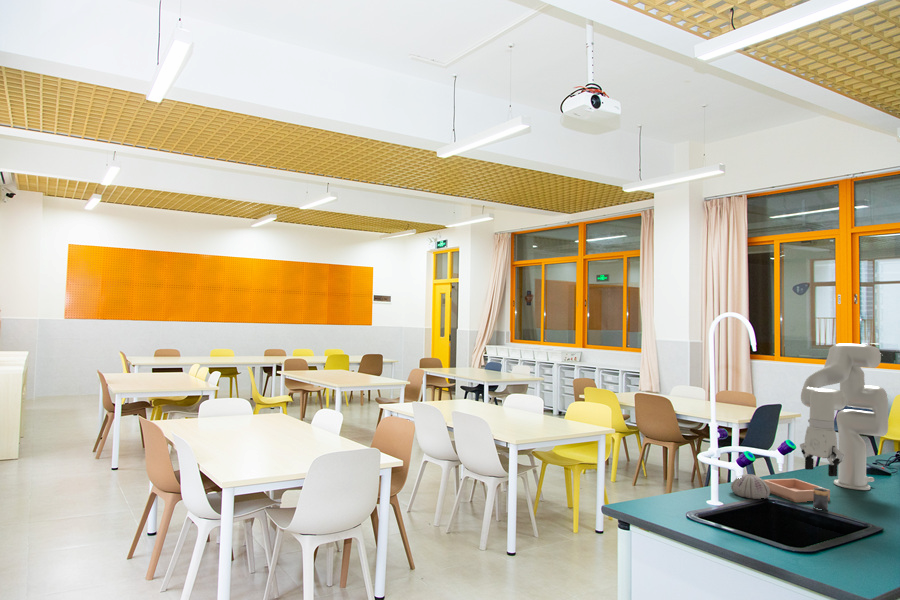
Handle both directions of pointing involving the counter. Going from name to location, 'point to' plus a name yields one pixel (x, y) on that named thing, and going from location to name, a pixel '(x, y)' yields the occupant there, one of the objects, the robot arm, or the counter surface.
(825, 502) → the battery cell
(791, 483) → the tray
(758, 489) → the sea urchin shell
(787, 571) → the counter surface
